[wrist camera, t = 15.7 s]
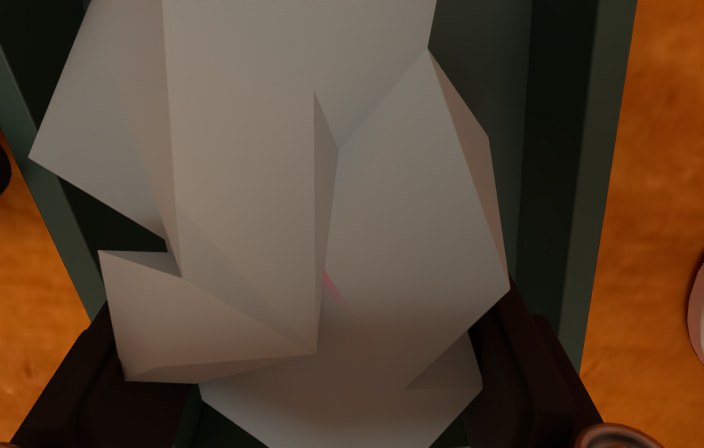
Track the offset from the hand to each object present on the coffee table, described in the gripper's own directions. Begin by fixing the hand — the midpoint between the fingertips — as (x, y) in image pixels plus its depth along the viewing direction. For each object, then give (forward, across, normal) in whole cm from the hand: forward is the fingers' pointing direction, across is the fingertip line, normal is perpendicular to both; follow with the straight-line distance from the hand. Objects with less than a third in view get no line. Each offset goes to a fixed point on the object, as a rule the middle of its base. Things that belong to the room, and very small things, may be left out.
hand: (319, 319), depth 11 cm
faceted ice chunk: (+2, 0, -3) cm, 3 cm away
